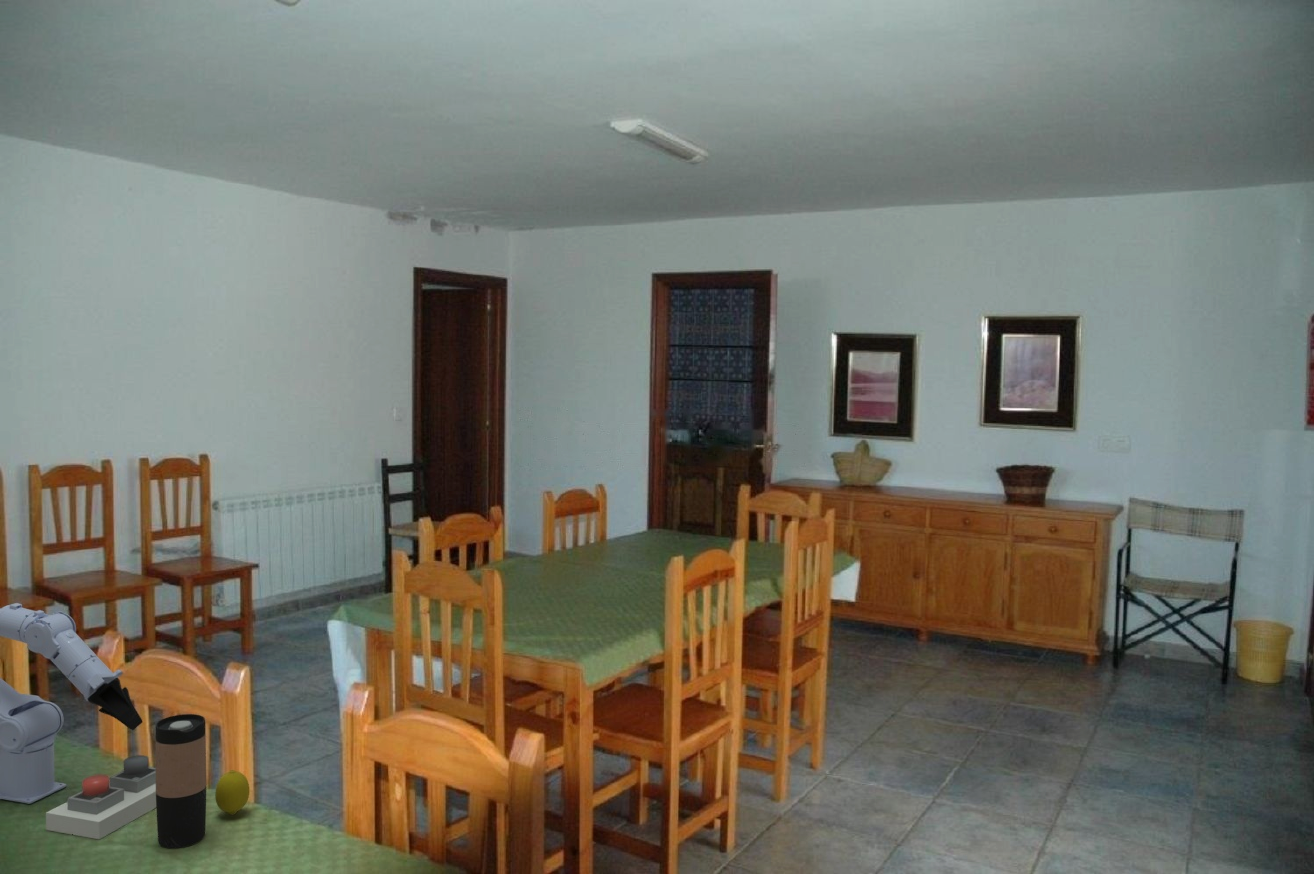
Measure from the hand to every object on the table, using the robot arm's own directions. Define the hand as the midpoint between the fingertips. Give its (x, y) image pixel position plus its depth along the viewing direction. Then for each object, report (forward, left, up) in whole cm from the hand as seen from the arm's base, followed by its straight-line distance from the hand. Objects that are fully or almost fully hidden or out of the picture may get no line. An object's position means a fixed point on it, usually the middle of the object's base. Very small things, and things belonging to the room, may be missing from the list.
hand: (134, 722), depth 177 cm
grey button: (-1, +2, -10) cm, 10 cm away
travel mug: (+17, -8, -15) cm, 24 cm away
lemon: (+19, +2, -15) cm, 24 cm away
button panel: (-1, -3, -15) cm, 15 cm away
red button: (-1, -7, -10) cm, 12 cm away
